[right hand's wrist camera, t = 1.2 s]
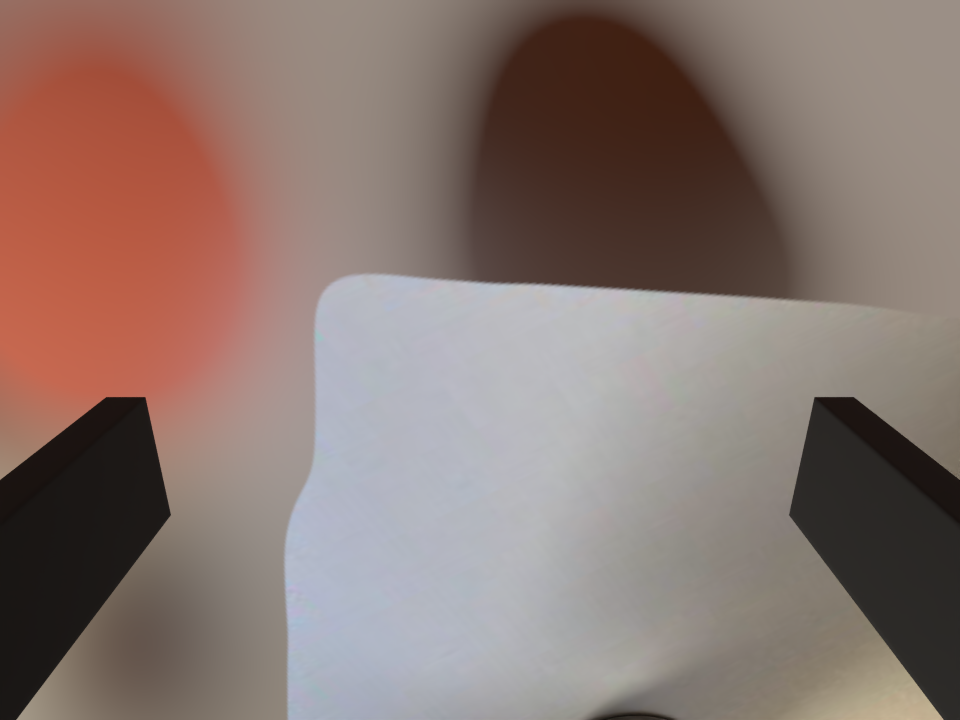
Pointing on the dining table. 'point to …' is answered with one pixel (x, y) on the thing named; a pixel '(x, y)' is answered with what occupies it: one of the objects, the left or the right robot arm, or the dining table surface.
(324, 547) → the dining table surface
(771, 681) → the dining table surface
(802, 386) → the dining table surface
